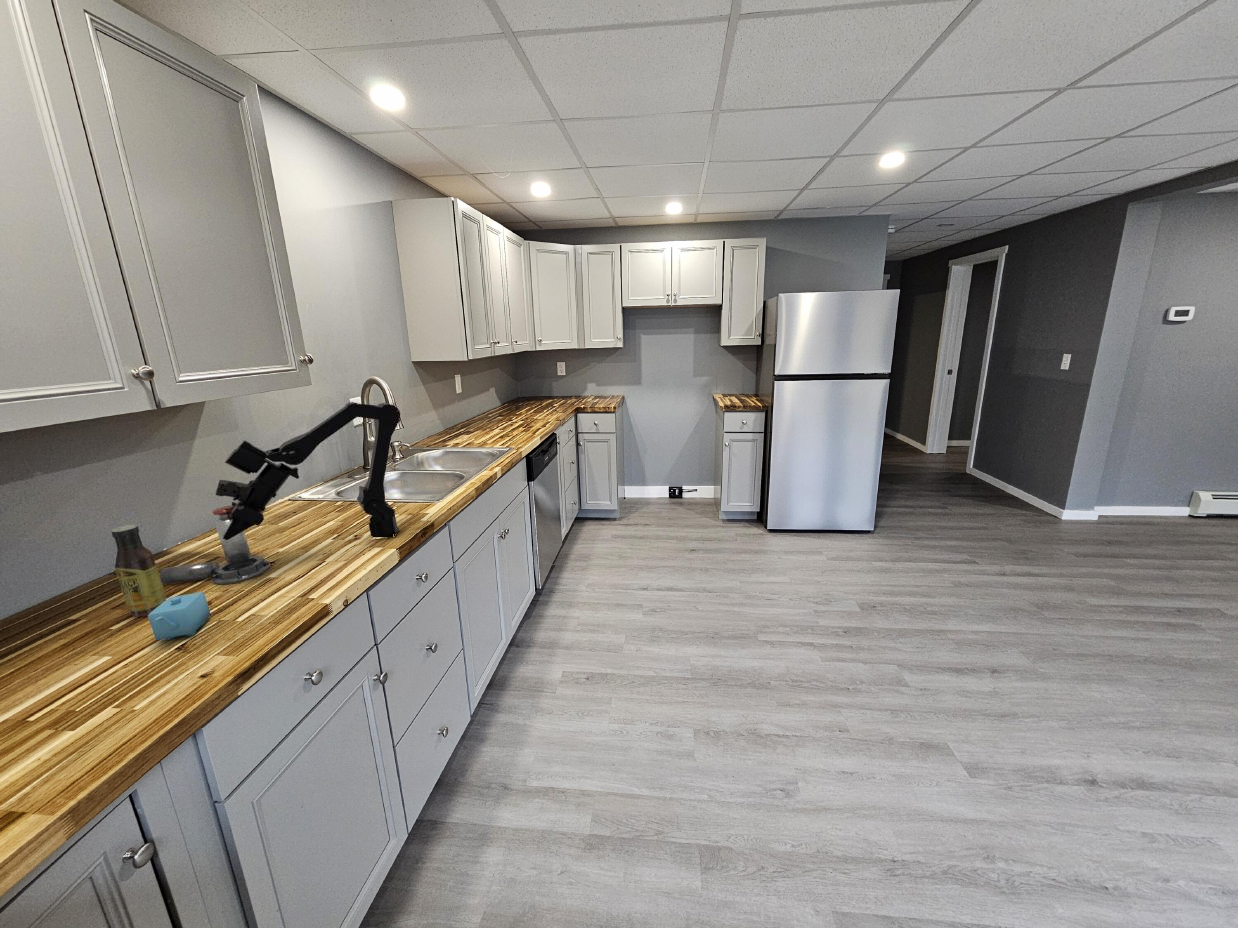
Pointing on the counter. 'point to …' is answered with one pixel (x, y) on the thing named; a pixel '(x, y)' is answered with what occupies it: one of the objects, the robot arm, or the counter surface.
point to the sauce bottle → (137, 572)
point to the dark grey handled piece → (216, 571)
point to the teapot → (179, 616)
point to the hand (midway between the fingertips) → (225, 536)
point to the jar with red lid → (235, 546)
